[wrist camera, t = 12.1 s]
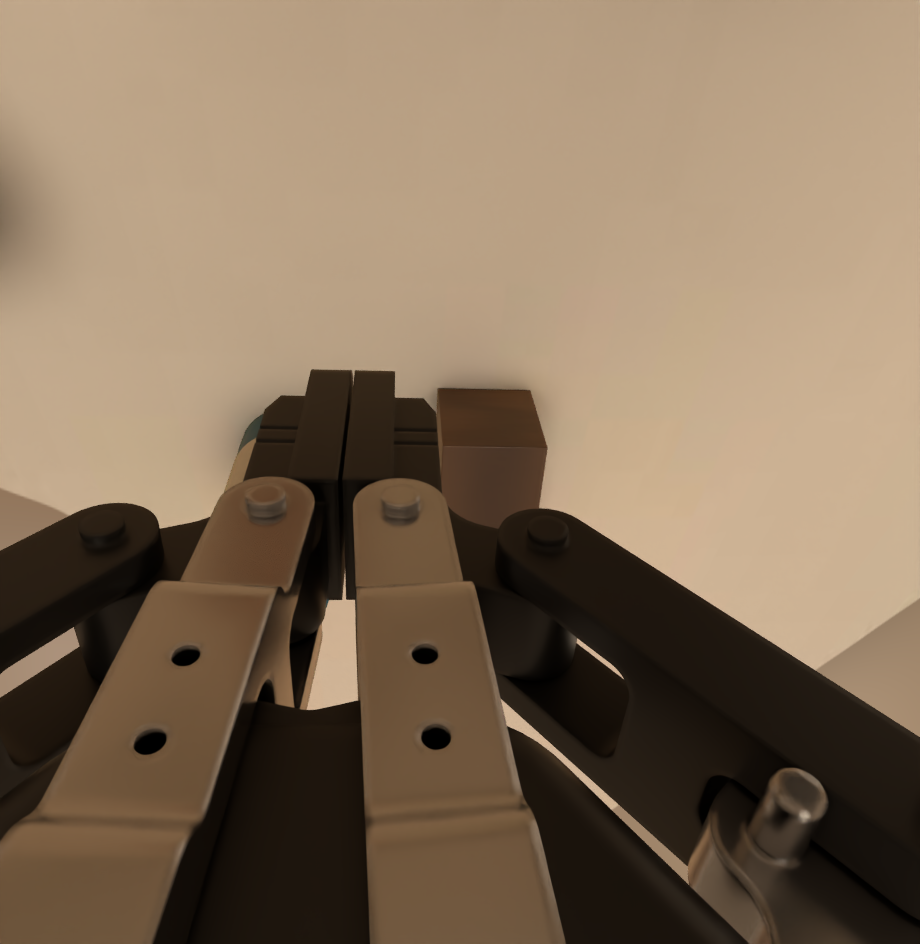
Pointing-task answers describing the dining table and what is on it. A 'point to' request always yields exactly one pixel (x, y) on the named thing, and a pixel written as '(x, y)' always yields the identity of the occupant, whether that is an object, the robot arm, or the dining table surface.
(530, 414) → the walnut block
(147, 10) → the dining table surface
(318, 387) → the robot arm
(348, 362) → the dining table surface
